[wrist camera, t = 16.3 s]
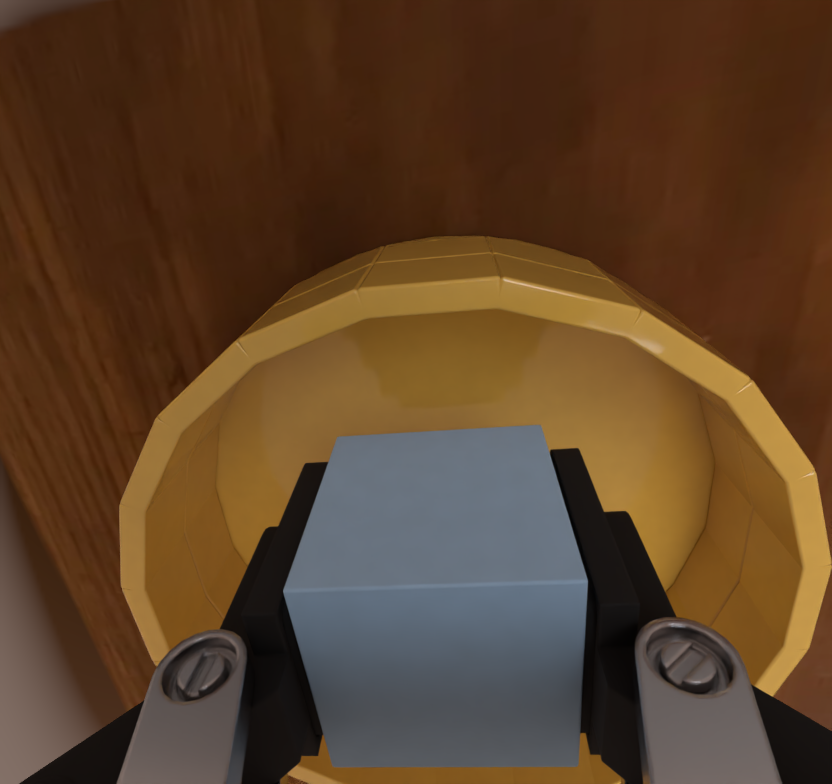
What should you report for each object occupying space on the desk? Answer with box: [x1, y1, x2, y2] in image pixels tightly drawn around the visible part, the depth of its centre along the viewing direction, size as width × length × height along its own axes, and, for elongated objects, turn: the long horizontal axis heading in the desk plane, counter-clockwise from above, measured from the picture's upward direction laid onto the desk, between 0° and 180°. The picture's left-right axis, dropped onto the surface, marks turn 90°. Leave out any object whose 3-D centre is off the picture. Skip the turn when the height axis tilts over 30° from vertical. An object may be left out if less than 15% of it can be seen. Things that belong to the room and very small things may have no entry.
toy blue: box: [283, 425, 588, 767], centre depth 10 cm, size 4×4×4 cm
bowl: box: [119, 236, 832, 784], centre depth 15 cm, size 16×16×5 cm
